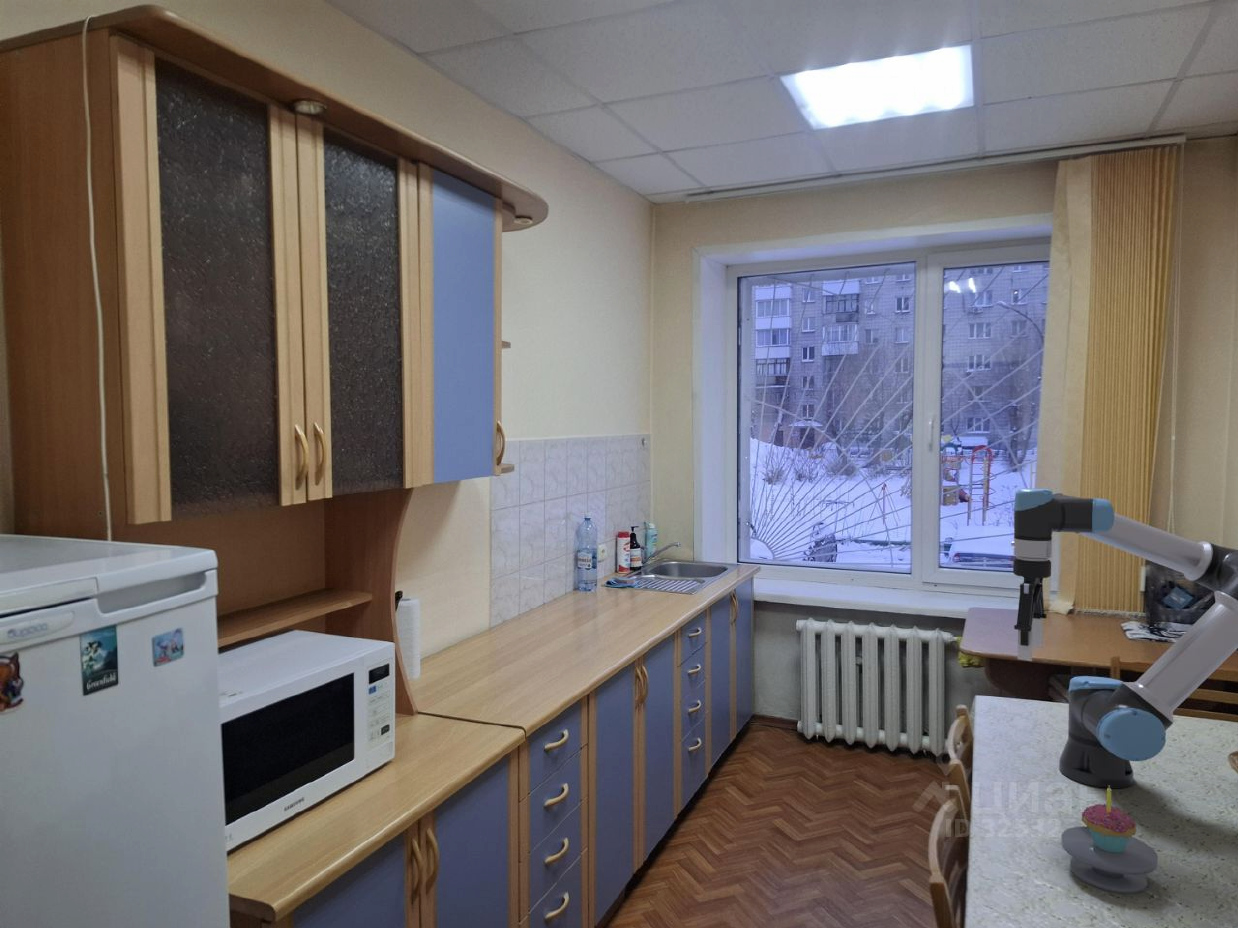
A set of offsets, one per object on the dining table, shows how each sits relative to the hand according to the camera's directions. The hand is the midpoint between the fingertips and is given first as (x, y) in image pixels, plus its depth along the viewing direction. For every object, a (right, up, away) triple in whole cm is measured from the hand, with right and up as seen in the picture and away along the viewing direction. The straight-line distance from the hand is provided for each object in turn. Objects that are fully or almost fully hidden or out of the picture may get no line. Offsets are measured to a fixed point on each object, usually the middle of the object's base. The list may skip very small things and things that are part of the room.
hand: (1030, 653), depth 181 cm
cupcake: (-2, -28, -33) cm, 43 cm away
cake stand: (-2, -33, -33) cm, 46 cm away
